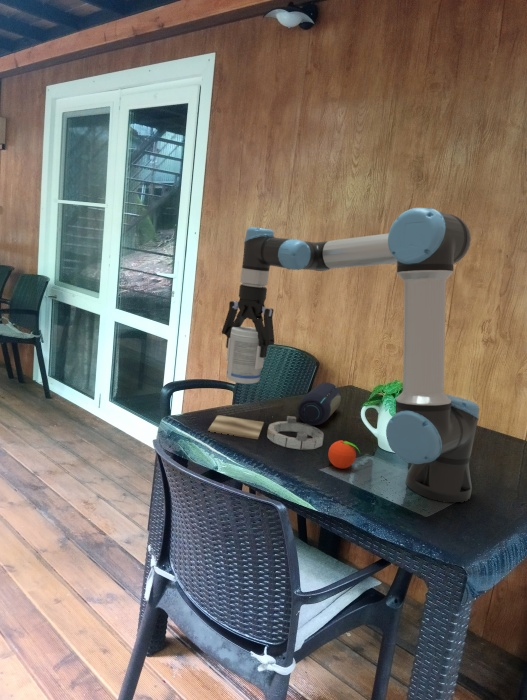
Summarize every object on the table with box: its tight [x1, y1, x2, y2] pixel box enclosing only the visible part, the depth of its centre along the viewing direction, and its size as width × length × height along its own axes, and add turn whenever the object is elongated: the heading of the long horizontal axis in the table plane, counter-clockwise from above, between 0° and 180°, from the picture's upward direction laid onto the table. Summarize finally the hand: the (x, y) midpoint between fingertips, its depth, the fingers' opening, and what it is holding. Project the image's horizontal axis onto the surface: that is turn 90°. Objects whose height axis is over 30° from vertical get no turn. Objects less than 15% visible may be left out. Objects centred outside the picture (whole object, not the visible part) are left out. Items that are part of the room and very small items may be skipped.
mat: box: [207, 414, 265, 440], centre depth 164 cm, size 14×14×1 cm
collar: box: [266, 415, 325, 451], centre depth 160 cm, size 16×16×4 cm
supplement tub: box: [226, 325, 262, 385], centre depth 160 cm, size 10×10×15 cm
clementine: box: [327, 439, 361, 469], centre depth 143 cm, size 8×7×7 cm
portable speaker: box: [297, 382, 343, 426], centre depth 183 cm, size 25×10×10 cm, turn 161°
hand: (244, 364), depth 161 cm, fingers closed on supplement tub, 9 cm apart
